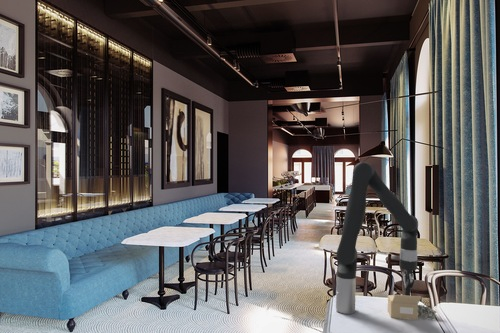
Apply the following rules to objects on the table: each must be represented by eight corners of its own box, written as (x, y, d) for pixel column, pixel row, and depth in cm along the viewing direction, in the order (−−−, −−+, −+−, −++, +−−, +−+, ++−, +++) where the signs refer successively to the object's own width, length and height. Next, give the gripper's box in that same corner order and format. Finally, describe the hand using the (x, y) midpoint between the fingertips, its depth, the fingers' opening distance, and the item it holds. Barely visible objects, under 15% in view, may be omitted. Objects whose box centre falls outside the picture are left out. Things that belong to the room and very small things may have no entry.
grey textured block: (437, 320, 176) (437, 312, 176) (420, 319, 177) (421, 311, 177) (429, 311, 187) (429, 303, 187) (413, 310, 188) (413, 302, 188)
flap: (391, 301, 178) (392, 302, 178) (394, 294, 172) (395, 295, 172) (417, 303, 176) (417, 304, 176) (421, 296, 170) (421, 297, 170)
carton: (391, 317, 178) (391, 301, 178) (387, 310, 187) (387, 294, 186) (417, 319, 176) (417, 303, 176) (412, 312, 185) (412, 296, 184)
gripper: (396, 254, 179) (395, 289, 179) (403, 261, 166) (402, 300, 166) (413, 255, 178) (412, 291, 178) (421, 262, 165) (420, 301, 165)
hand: (407, 295), depth 172 cm, fingers closed
